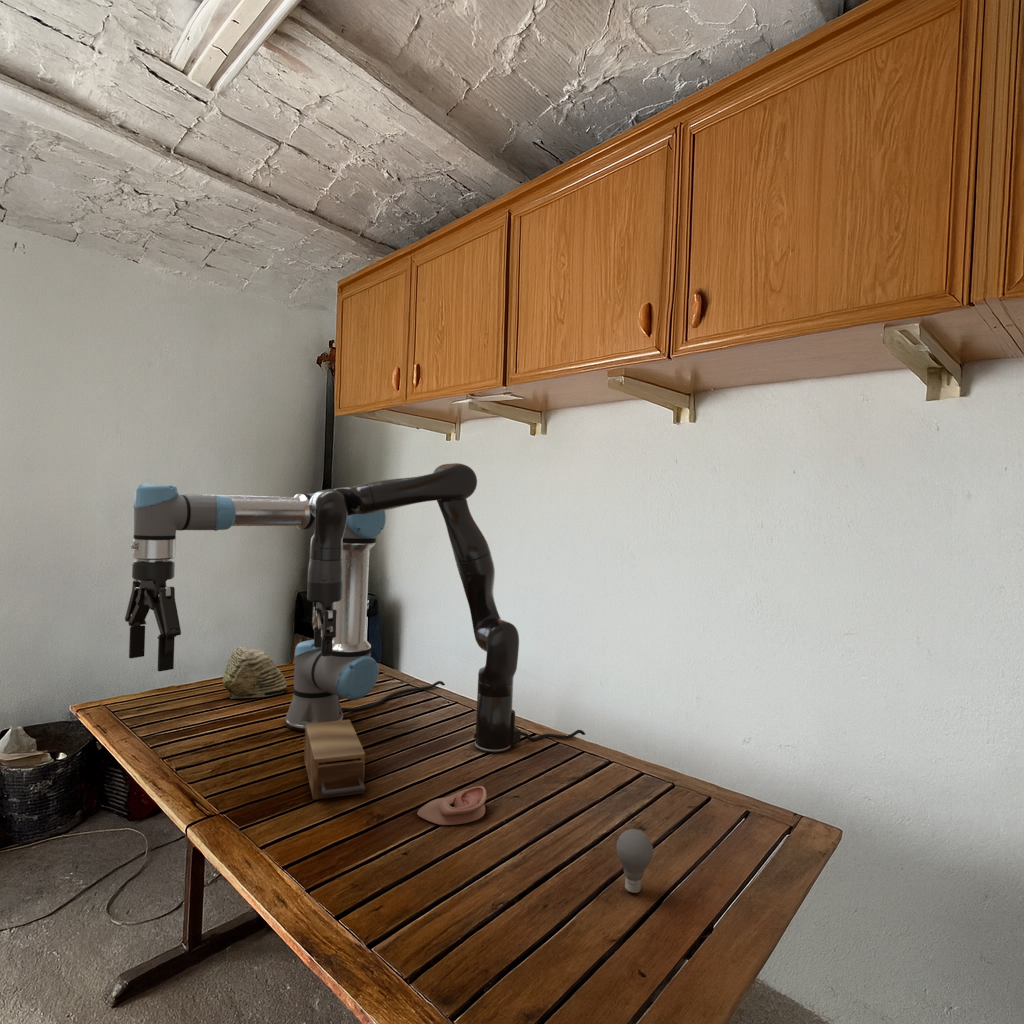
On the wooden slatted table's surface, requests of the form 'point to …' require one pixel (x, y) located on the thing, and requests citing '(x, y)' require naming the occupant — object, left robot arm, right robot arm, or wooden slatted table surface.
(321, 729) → the cabinet
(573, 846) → the wooden slatted table surface
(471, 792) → the anatomical model
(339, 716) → the left robot arm
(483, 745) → the right robot arm
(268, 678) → the fossil
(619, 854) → the light bulb
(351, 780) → the drawer
